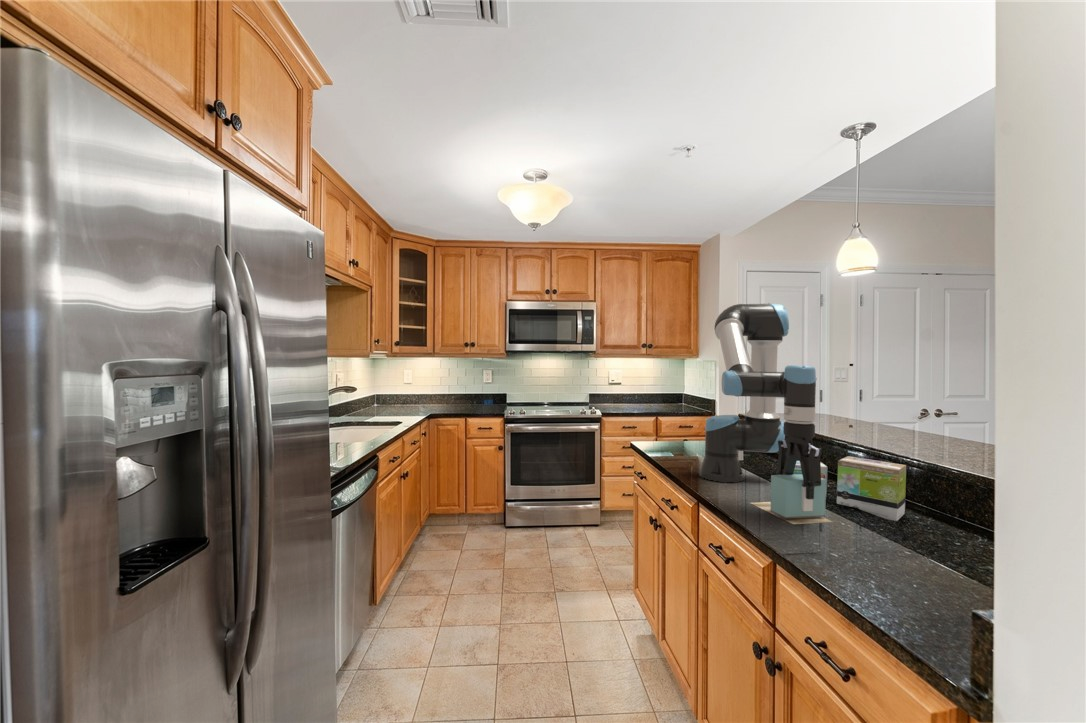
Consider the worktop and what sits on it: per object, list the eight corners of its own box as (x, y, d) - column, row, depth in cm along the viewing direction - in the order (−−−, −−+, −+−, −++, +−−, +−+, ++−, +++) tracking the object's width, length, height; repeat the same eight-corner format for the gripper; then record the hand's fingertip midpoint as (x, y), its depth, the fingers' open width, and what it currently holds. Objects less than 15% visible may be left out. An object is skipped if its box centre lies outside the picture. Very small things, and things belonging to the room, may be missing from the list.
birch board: (749, 507, 137) (749, 502, 137) (785, 506, 139) (785, 501, 139) (793, 529, 119) (793, 524, 119) (833, 527, 121) (833, 521, 121)
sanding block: (770, 511, 127) (771, 475, 127) (808, 509, 130) (809, 474, 130) (785, 518, 122) (786, 480, 122) (825, 516, 124) (825, 479, 124)
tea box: (835, 508, 138) (836, 459, 138) (845, 502, 144) (846, 455, 144) (898, 522, 126) (899, 468, 126) (906, 514, 133) (906, 463, 133)
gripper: (763, 417, 134) (762, 497, 134) (813, 426, 116) (812, 519, 116) (786, 417, 136) (785, 496, 136) (839, 426, 117) (838, 517, 117)
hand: (797, 506), depth 126 cm, fingers closed on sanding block, 6 cm apart
